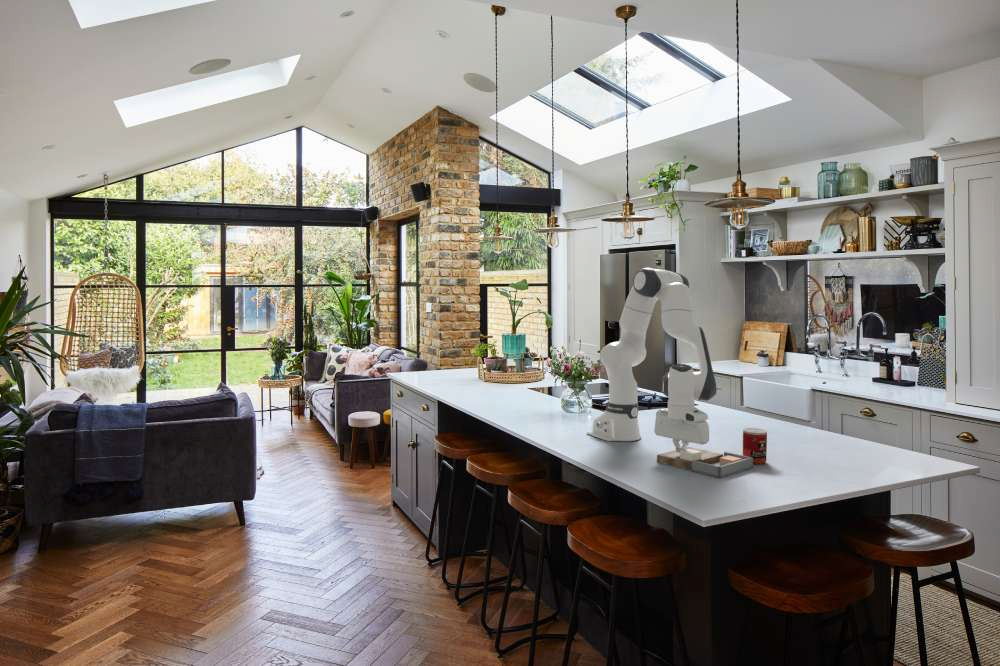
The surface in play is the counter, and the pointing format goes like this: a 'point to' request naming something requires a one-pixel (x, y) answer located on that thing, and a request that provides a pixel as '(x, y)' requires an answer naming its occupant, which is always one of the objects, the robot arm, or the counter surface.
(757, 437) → the canned food
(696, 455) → the tile cream
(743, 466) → the tray
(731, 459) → the tile terracotta
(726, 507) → the counter surface
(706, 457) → the board
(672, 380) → the robot arm
